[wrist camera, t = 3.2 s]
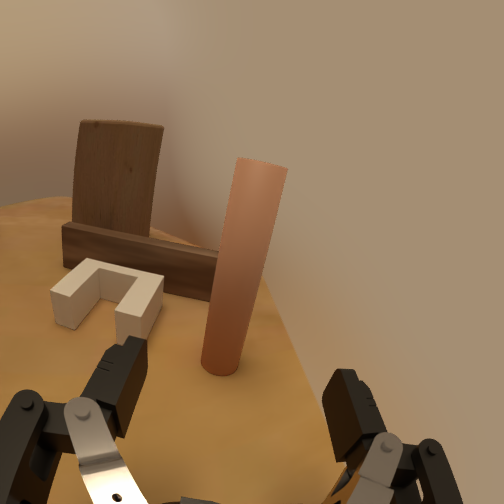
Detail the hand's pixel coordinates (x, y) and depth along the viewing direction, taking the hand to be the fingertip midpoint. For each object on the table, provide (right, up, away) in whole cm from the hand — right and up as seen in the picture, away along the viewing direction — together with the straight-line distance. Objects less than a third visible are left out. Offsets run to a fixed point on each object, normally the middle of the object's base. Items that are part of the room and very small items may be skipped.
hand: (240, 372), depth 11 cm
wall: (-15, +1, +24) cm, 28 cm away
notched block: (-15, -2, +16) cm, 22 cm away
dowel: (-3, -5, +14) cm, 15 cm away
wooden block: (-23, +6, +32) cm, 40 cm away
